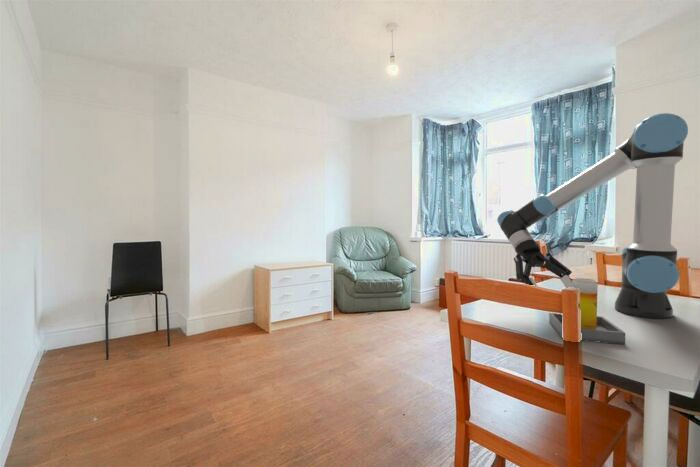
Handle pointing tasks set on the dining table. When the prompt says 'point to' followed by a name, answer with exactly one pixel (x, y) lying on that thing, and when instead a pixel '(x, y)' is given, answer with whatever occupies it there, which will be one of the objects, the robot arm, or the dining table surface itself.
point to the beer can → (587, 302)
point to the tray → (602, 333)
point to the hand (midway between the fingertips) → (557, 295)
